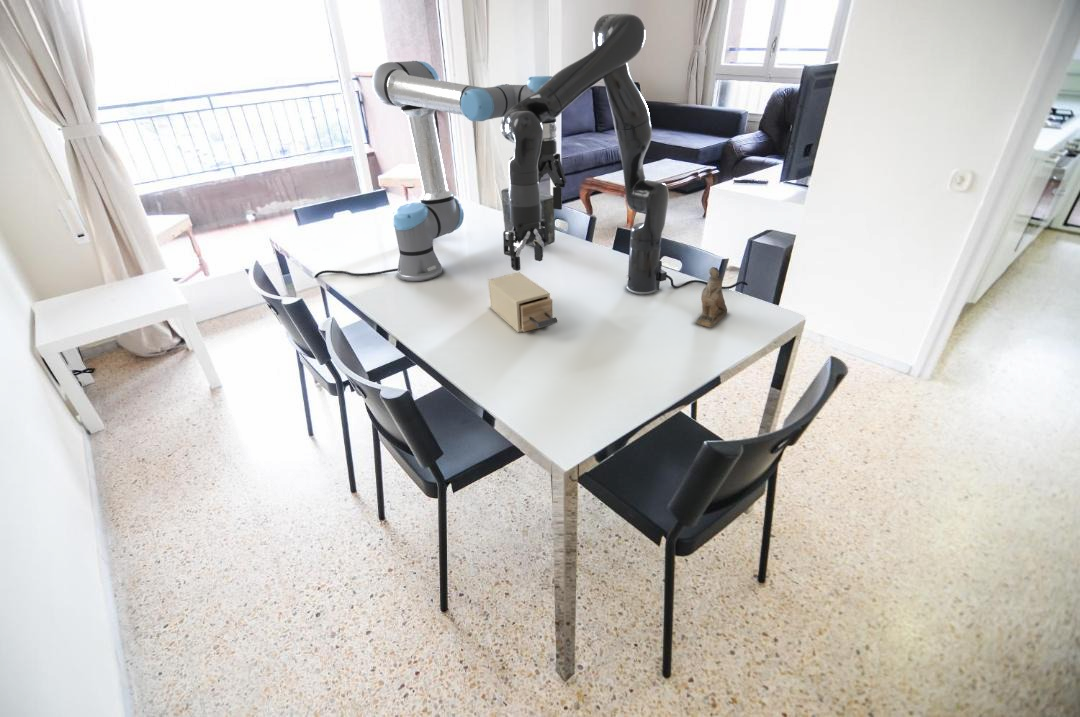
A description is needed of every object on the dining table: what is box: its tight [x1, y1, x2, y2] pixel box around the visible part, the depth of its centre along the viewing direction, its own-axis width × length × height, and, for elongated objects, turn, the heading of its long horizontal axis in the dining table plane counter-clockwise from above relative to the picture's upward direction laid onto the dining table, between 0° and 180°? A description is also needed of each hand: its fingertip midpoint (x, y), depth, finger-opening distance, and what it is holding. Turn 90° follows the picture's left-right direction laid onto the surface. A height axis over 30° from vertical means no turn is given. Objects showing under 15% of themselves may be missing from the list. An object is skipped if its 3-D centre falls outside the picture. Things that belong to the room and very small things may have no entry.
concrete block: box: [500, 187, 556, 248], centre depth 195 cm, size 27×9×20 cm, turn 36°
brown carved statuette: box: [695, 266, 728, 328], centre depth 135 cm, size 12×6×18 cm, turn 136°
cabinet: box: [487, 271, 551, 333], centre depth 143 cm, size 18×10×9 cm, turn 29°
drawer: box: [519, 297, 558, 333], centre depth 139 cm, size 23×9×7 cm, turn 29°
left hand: (545, 214), depth 151 cm, fingers open, 13 cm apart
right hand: (527, 265), depth 129 cm, fingers open, 8 cm apart
